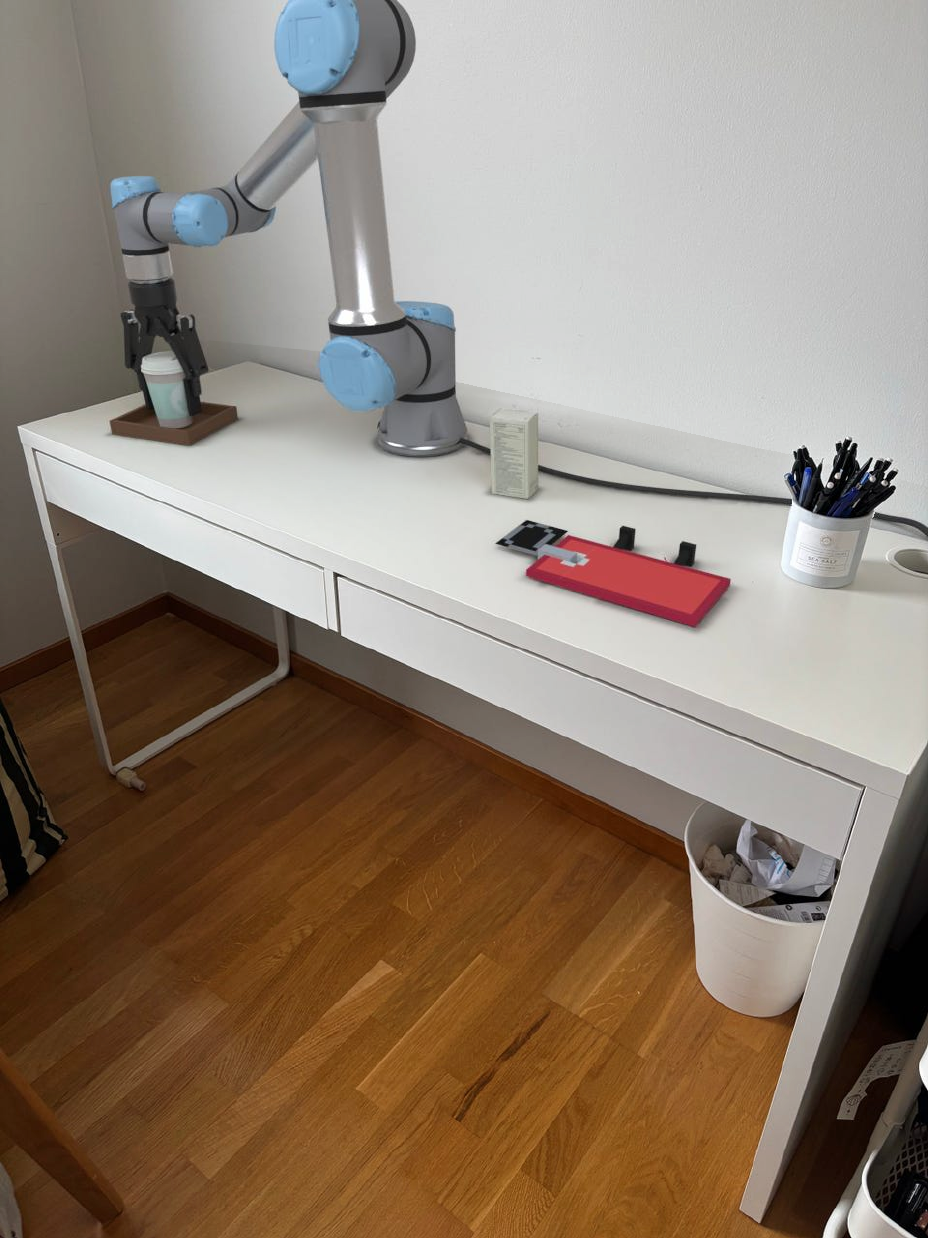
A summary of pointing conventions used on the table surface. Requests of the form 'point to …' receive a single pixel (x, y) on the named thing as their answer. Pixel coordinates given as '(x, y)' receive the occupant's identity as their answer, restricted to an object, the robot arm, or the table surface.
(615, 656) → the table surface
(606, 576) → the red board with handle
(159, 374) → the coffee cup
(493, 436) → the cosmetic box
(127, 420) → the tray
